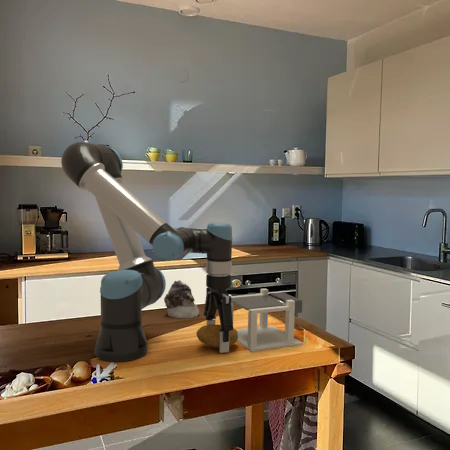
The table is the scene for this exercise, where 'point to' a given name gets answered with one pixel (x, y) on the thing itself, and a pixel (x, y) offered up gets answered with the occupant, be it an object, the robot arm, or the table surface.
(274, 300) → the flap
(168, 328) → the table surface
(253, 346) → the frame
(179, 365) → the table surface
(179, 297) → the stone
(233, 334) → the potato
